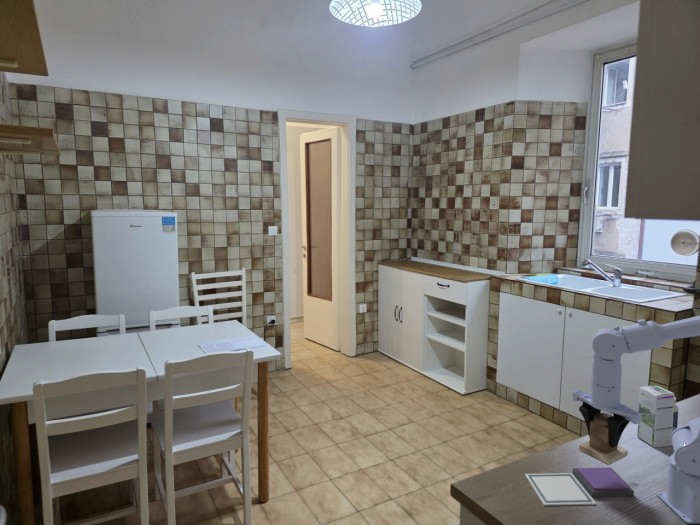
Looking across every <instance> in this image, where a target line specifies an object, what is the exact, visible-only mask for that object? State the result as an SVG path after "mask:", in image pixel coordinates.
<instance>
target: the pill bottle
mask: <svg viewBox="0 0 700 525" xmlns="http://www.w3.org/2000/svg"><path fill="white" fill-rule="evenodd" d="M676 403H677V397H676V396H674V413H673V430H672V432H673V431H674V430H675V429H677V428H678V422H679V421H678V420H679V406H678V405H677V404H676Z"/></svg>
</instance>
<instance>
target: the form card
mask: <svg viewBox="0 0 700 525" xmlns="http://www.w3.org/2000/svg"><path fill="white" fill-rule="evenodd" d="M524 477H525V478H526V480H527V481H528V483H529V484H530V485H531V487H532V489H533V490H534V492H535V494H536V495H537V497H538V498H539V500H540V501H541V503H542V504H543V506H582V505H583V506H585V505H586V506H590V505H591V506H592V505H595V506H596V505H597V502H596V501H595V500H594V499H593V497H592V496H591V495H590V494H589V492H588V491H587V490H586V489H585V488H584V486H583V485H582V484H581V483H580V481H579V480H578V479H577V478H576V477H575V475H574V474H573V472H563V473H561V472H559V473H555V472H554V473H524Z"/></svg>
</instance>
